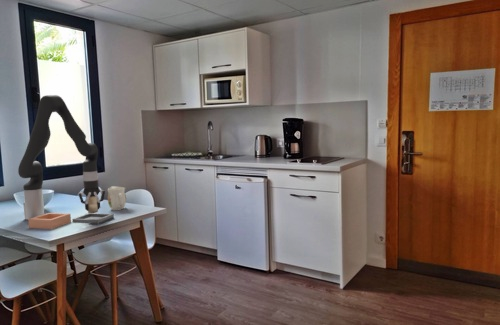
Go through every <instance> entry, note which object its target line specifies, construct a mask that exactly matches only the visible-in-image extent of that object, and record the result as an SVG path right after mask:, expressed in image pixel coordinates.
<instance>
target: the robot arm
mask: <svg viewBox="0 0 500 325" xmlns="http://www.w3.org/2000/svg"><path fill="white" fill-rule="evenodd" d="M53 113H56V114H57V115H58V116H60V118H61V119H62V122H63V125H64V128H65V132H66V134H67V135H68V137H70V140H72V142H74V145H75V148H76V150H77V151H78V153H79V154H80V155H81V156H83V157H85V160H84V161H83V162H82V180H83V191H81V192H78V193H77V195H78V198H79V200H80V203H81V204H84V208H85V210H86V211H87V212H88V200H89V197H92V196H96V199H97V205H98V210H100V209H101V202H103V201H104V199H105V194H106V191H105V190H104V189H100V186H99V185H100V184H99V174H98V167H97V166H98V165H97V161H98V156H99V149H98V147H97V145H96V143H94V142H93V143H92V142H87V135H86V134H85V132H84V130H82V129H81V127H80V126H79V124H78V123H77V122H76V120H75V118H74V117H73V115H72V113H71V112H70V109H69V108H68V106H67V104H66V102H65V100H64V99H63V98H62V97H61V96H59V95H57V94H49V95H43V96H42V97H41V98H40V99H39V103H38V108H37V112H36V116H35V117H36V118H35V121H34V123H33V127H32V131H31V133H30V136H29V140H28V143H27V147H26V149H25V152H24V155H23V156H22V158H21V160H20V163H19V165H18V167H17V168H18V169H17V170H18V172H17V173H18V175H19V177H20V178H21V179H29V181H28V182H27V183H25V184H24V185H23V197H24V202H23V215H24V220H27V221H28V219H31V218H34V217H37V216H40V215H43V214H45V206H44V197H43V183H44V176H43V175H44V174H43V171H44V170H43V165H42V164H41V162H39V161H37V160H36V158H37V157H38V156H39V155H40V154H41V153H42V152H43V151H44V150H45V148H46V147H47V146H48V144H49V141H50V138H51V136H52V135H51V129H50V124H49V122H50V119H51V117H52V114H53ZM99 194H100V198H99ZM84 195H85V200H84V199H83V196H84Z"/></svg>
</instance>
